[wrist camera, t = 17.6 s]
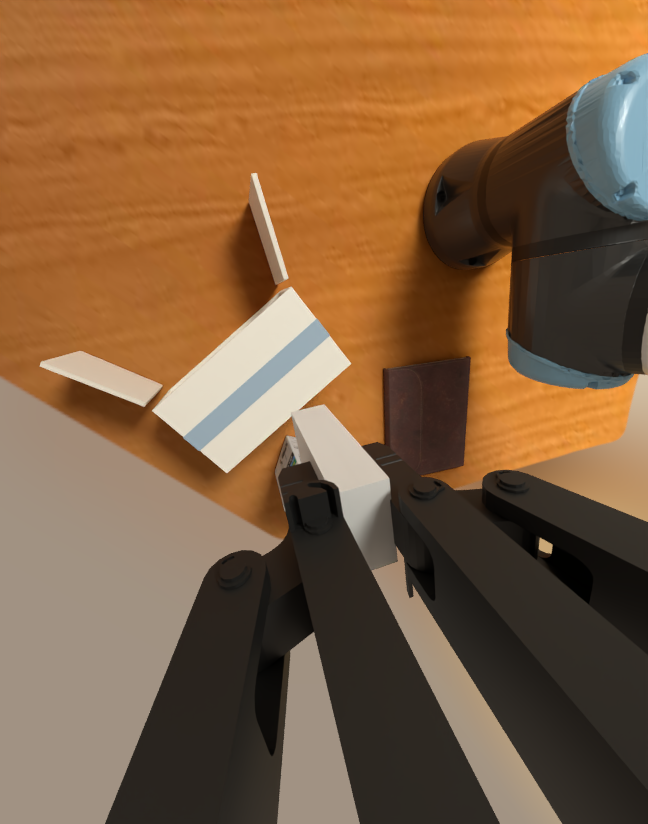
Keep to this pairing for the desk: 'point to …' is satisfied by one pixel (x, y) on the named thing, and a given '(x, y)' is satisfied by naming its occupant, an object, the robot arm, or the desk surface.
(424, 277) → the desk surface
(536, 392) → the desk surface
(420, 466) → the notebook
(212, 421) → the carton
